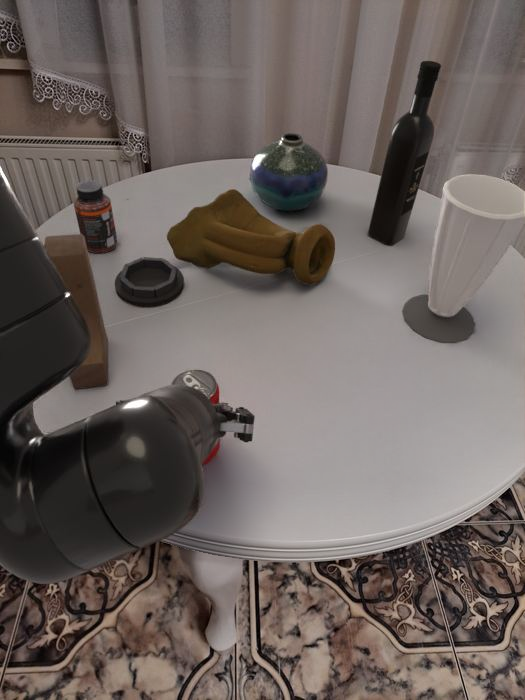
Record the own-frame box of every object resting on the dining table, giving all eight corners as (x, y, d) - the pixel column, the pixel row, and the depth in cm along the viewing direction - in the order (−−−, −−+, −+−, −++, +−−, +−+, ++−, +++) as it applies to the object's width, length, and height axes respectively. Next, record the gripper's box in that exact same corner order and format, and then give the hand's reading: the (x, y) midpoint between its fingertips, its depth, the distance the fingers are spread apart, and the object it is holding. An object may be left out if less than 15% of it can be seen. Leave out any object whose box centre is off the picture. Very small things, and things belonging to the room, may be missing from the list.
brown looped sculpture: (241, 182, 94) (345, 205, 83) (235, 251, 99) (332, 281, 88) (167, 185, 80) (280, 214, 69) (165, 265, 86) (269, 303, 74)
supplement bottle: (122, 249, 90) (112, 190, 82) (89, 258, 87) (75, 198, 79) (111, 232, 93) (101, 174, 85) (79, 240, 91) (65, 181, 83)
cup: (484, 313, 83) (543, 191, 67) (461, 354, 76) (521, 227, 60) (418, 286, 87) (459, 165, 71) (390, 322, 80) (430, 196, 64)
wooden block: (108, 385, 68) (82, 277, 55) (73, 390, 67) (38, 281, 54) (108, 339, 74) (83, 232, 61) (75, 343, 73) (44, 235, 60)
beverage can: (192, 476, 59) (187, 413, 50) (168, 446, 62) (159, 381, 53) (228, 453, 61) (229, 389, 53) (203, 425, 64) (200, 360, 56)
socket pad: (141, 316, 78) (139, 304, 76) (102, 282, 83) (99, 270, 81) (197, 288, 83) (197, 275, 82) (158, 257, 89) (156, 245, 87)
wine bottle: (406, 236, 98) (457, 64, 76) (390, 247, 95) (438, 72, 73) (381, 224, 100) (424, 55, 79) (365, 235, 97) (404, 62, 76)
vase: (233, 203, 103) (234, 137, 94) (277, 176, 112) (282, 114, 103) (295, 230, 97) (303, 163, 88) (337, 200, 106) (348, 136, 97)
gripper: (259, 397, 42) (264, 383, 59) (86, 379, 42) (141, 370, 59) (249, 488, 42) (257, 447, 59) (77, 469, 42) (134, 434, 59)
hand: (198, 409), depth 59 cm, fingers closed on beverage can, 5 cm apart
